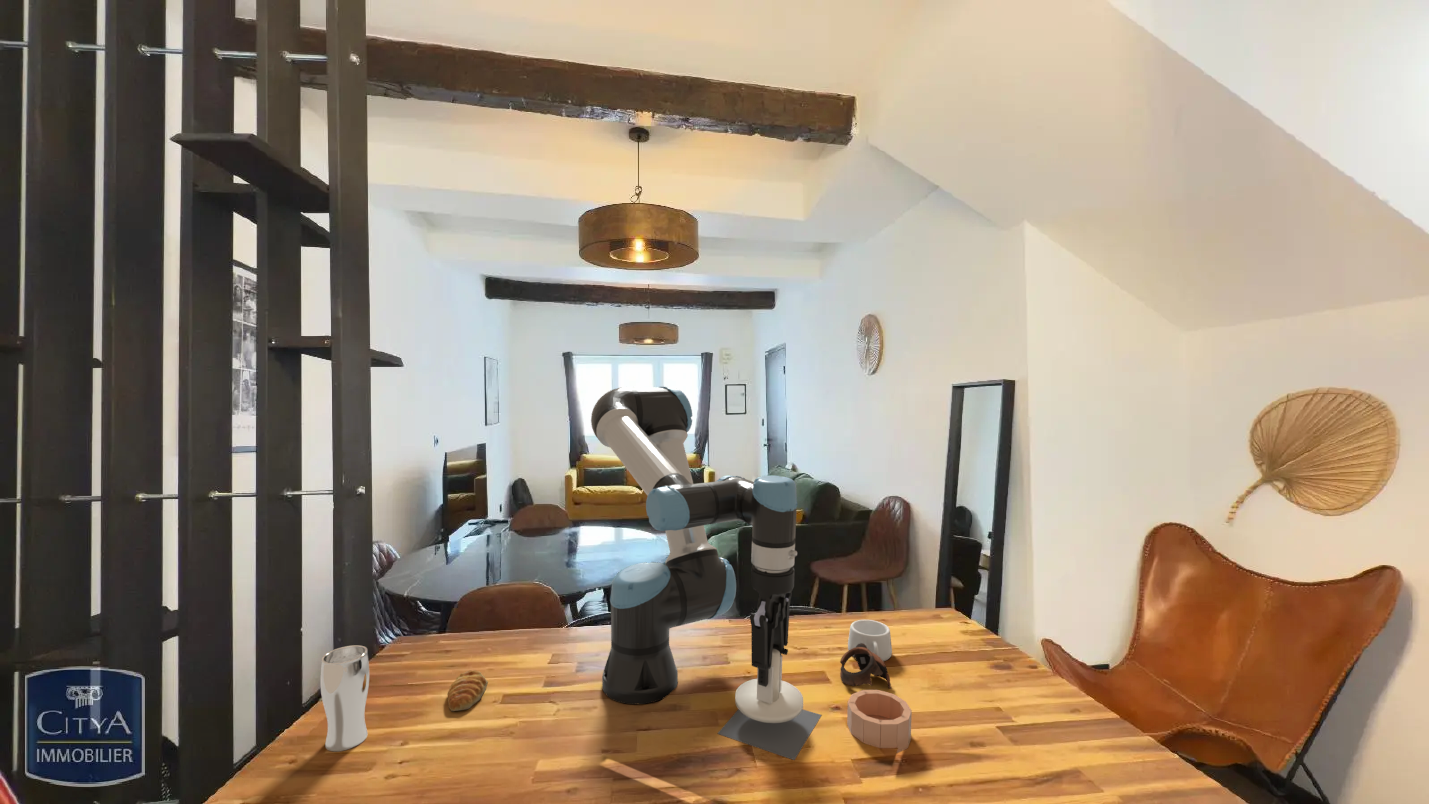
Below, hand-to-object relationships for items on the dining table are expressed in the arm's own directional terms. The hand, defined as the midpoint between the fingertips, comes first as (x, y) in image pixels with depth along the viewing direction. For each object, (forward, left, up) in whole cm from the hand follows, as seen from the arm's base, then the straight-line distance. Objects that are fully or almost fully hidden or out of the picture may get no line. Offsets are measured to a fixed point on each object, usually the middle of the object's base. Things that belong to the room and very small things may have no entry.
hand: (769, 694), depth 102 cm
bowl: (+18, +8, -6) cm, 20 cm away
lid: (0, 0, -1) cm, 1 cm away
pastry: (-55, -19, -6) cm, 59 cm away
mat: (+1, 0, -6) cm, 6 cm away
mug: (+10, +36, -6) cm, 37 cm away
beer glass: (-61, -38, -6) cm, 73 cm away
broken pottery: (+11, +24, -6) cm, 27 cm away
